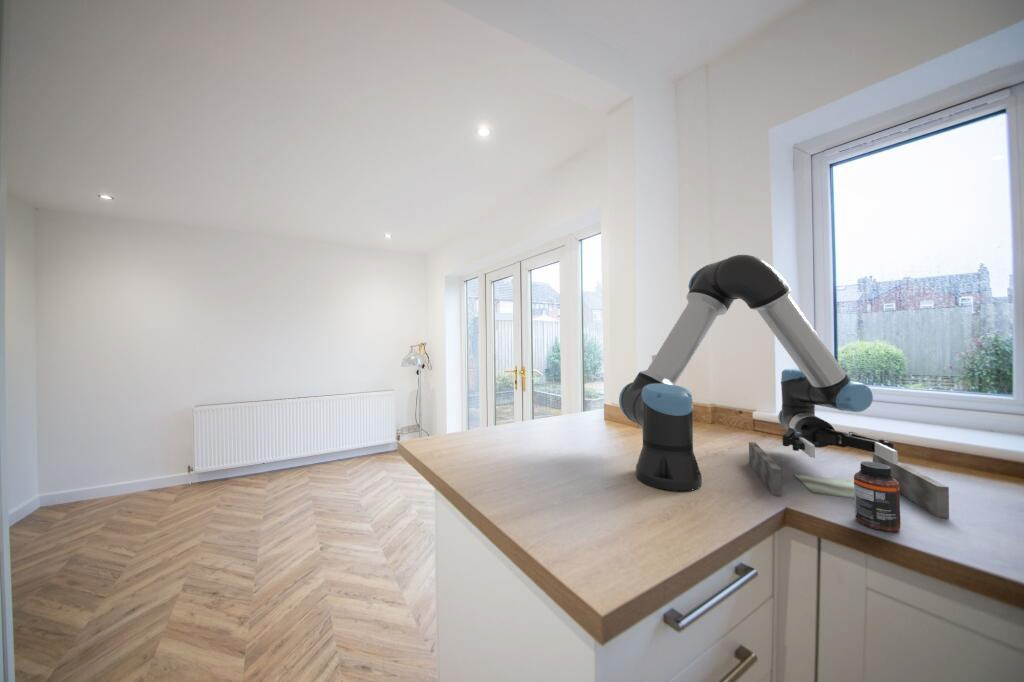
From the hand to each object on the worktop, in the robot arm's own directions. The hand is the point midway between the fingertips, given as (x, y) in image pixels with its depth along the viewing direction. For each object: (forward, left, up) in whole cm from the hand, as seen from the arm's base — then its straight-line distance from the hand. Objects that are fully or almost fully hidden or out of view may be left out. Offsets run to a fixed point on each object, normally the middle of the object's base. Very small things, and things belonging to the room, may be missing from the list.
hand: (852, 454), depth 74 cm
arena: (-7, +4, -10) cm, 13 cm away
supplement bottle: (+8, -6, -10) cm, 14 cm away
